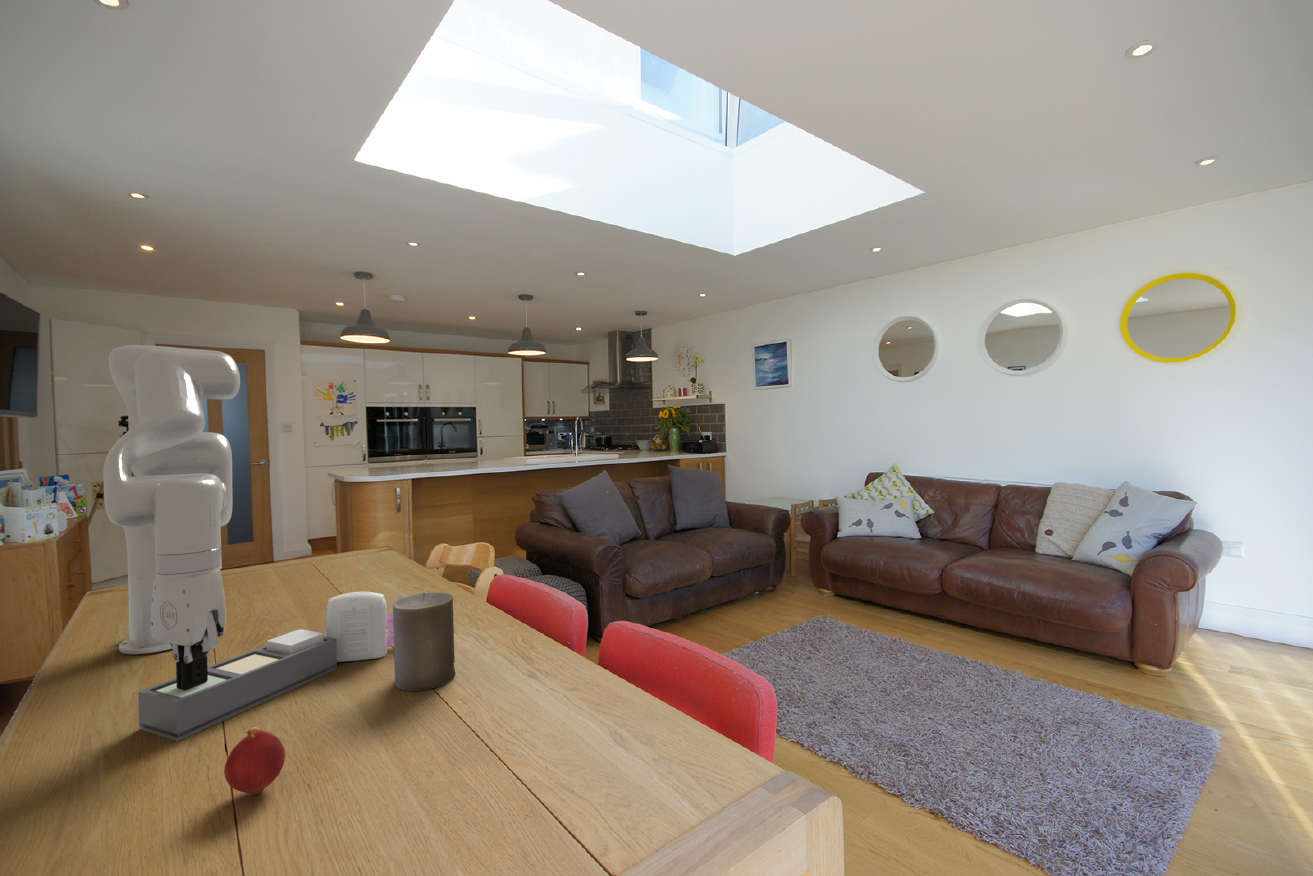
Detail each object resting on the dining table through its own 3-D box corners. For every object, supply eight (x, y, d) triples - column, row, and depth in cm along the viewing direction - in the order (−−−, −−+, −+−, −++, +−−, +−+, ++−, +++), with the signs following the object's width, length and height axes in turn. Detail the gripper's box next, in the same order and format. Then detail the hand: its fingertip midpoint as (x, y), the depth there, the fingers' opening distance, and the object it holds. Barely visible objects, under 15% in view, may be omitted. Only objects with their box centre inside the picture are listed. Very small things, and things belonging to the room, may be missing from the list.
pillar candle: (467, 672, 100) (465, 587, 100) (423, 696, 91) (421, 603, 91) (426, 664, 104) (424, 582, 104) (380, 686, 95) (378, 597, 95)
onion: (246, 779, 70) (245, 715, 70) (295, 776, 70) (294, 713, 70) (213, 811, 64) (212, 741, 64) (267, 808, 64) (265, 739, 64)
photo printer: (389, 650, 110) (388, 587, 110) (385, 659, 106) (384, 593, 106) (329, 656, 107) (328, 591, 107) (323, 666, 103) (322, 598, 103)
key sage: (156, 717, 82) (155, 690, 82) (202, 699, 88) (201, 673, 88) (182, 725, 80) (181, 697, 80) (227, 706, 86) (227, 679, 86)
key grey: (266, 664, 97) (266, 640, 97) (300, 651, 103) (299, 629, 103) (291, 669, 95) (290, 645, 95) (323, 655, 101) (323, 633, 100)
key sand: (216, 693, 90) (215, 668, 90) (255, 677, 95) (254, 654, 95) (241, 700, 88) (241, 674, 87) (279, 683, 93) (279, 659, 93)
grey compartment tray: (139, 729, 82) (138, 691, 81) (302, 662, 105) (301, 632, 104) (177, 741, 78) (176, 702, 78) (336, 669, 101) (336, 638, 101)
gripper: (128, 563, 83) (131, 688, 83) (193, 572, 77) (196, 705, 78) (186, 553, 90) (189, 668, 90) (249, 560, 84) (252, 682, 85)
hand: (192, 685), depth 84 cm, fingers closed
